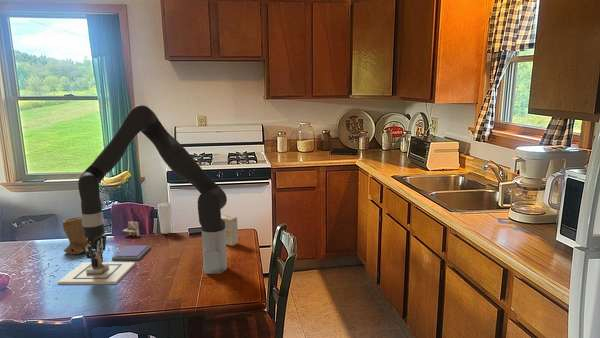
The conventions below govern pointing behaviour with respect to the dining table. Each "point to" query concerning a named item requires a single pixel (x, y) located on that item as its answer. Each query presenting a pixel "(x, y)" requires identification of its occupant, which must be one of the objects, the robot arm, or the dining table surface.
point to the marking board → (107, 277)
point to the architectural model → (132, 228)
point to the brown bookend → (74, 235)
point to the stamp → (99, 269)
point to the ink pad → (131, 253)
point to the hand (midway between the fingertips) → (97, 264)
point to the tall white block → (165, 217)
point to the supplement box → (230, 230)
